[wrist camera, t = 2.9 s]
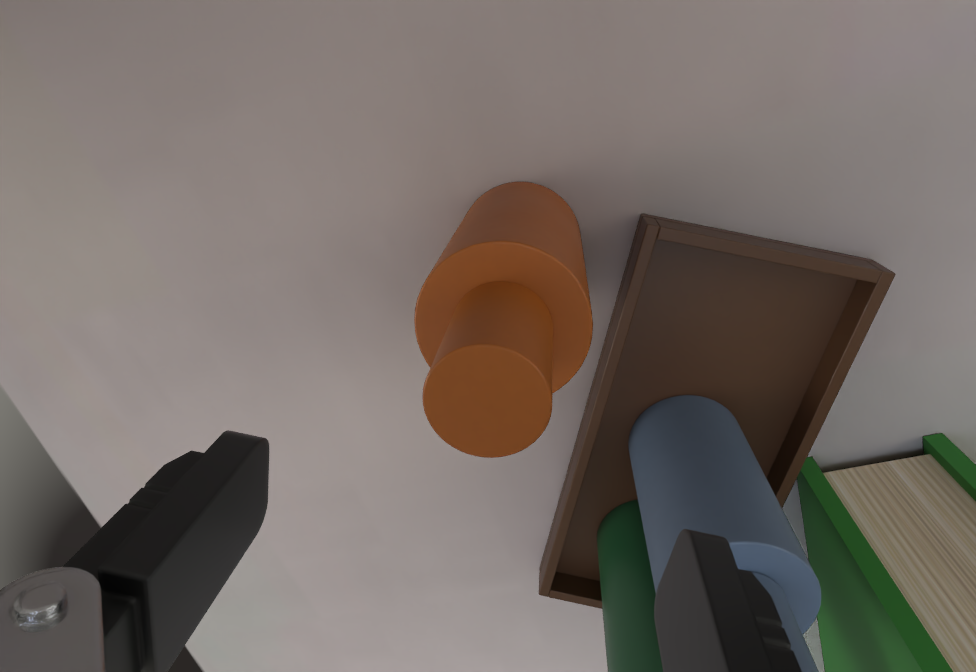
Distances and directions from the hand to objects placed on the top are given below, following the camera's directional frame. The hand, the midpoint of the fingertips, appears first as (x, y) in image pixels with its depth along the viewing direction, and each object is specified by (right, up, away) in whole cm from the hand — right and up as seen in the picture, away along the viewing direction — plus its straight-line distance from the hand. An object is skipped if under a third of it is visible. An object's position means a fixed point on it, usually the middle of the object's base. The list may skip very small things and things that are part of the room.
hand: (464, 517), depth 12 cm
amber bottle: (+2, +8, +19) cm, 21 cm away
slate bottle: (+11, -2, +22) cm, 24 cm away
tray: (+11, -2, +22) cm, 25 cm away
